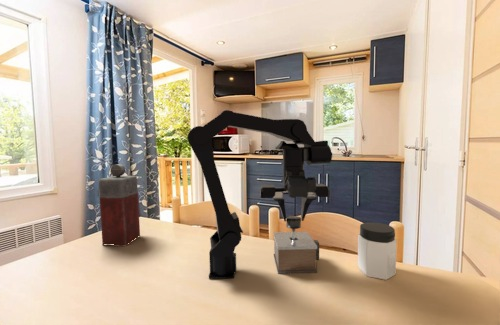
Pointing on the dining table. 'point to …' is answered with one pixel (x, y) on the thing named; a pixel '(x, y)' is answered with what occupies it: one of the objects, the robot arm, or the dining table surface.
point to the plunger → (293, 224)
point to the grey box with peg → (295, 252)
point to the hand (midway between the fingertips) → (293, 220)
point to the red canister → (119, 207)
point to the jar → (377, 250)
